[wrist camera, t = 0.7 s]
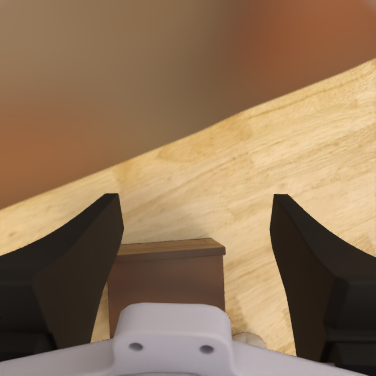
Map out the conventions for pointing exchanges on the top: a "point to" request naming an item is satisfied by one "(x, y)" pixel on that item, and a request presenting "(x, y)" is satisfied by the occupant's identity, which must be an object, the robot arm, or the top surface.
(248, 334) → the beige rounded piece
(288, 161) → the top surface
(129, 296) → the wooden box
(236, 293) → the top surface
